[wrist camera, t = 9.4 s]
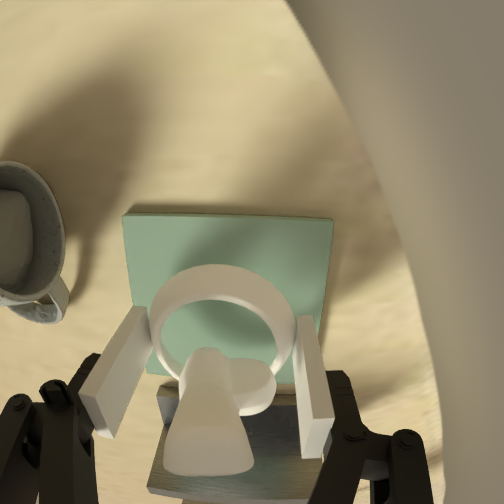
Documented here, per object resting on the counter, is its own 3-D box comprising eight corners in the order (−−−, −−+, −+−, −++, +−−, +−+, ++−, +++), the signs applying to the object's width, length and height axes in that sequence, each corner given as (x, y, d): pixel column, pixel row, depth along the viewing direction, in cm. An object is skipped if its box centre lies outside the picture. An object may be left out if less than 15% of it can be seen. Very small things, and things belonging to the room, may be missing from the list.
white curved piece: (347, 179, 8) (398, 441, 6) (272, 270, 19) (293, 382, 18) (58, 219, 7) (102, 494, 5) (150, 288, 18) (169, 402, 17)
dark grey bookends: (159, 386, 21) (133, 462, 15) (325, 394, 21) (339, 474, 14) (191, 497, 29) (183, 544, 22) (290, 503, 29) (292, 550, 22)
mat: (125, 212, 16) (121, 215, 16) (331, 219, 16) (333, 222, 16) (149, 367, 20) (147, 373, 20) (308, 377, 20) (308, 383, 20)
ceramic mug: (-25, 195, 16) (-99, 231, 9) (41, 148, 15) (-54, 175, 8) (29, 319, 20) (-24, 380, 13) (103, 302, 19) (46, 383, 12)
